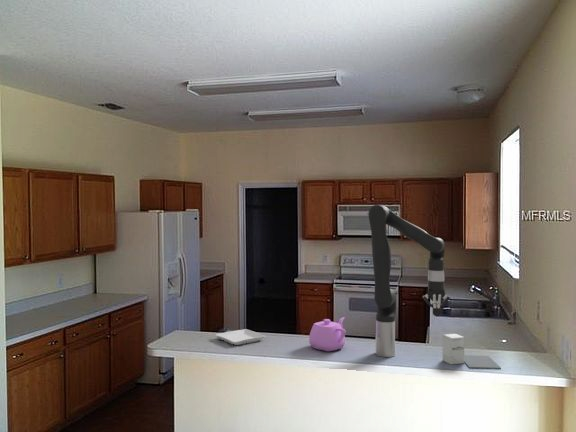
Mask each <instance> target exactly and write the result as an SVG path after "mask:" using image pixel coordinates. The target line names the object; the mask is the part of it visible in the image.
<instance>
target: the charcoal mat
mask: <svg viewBox="0 0 576 432" xmlns="http://www.w3.org/2000/svg"><path fill="white" fill-rule="evenodd" d="M464 363H465V365H466V367H468V369H483V370H484V369H485V370H489V369H490V370H502V369H501V366H500V365H499V364H498V363H496V361H495V360H494V359H492V358H491V357H490V356H489V355H478V354H477V355H475V354H474V355H473V354H472V355H471V354H466V355H465V354H464ZM464 363H463V364H464Z"/></svg>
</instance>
